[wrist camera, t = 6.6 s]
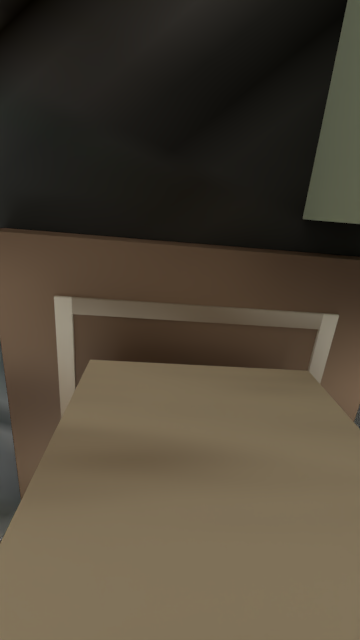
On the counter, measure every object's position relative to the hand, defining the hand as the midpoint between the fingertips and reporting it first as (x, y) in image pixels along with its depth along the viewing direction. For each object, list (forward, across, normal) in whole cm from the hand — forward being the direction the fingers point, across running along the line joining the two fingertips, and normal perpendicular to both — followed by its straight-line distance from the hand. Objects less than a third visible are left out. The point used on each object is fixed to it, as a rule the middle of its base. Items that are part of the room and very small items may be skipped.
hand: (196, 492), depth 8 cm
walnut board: (+4, 0, 0) cm, 4 cm away
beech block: (+1, 0, 0) cm, 1 cm away
